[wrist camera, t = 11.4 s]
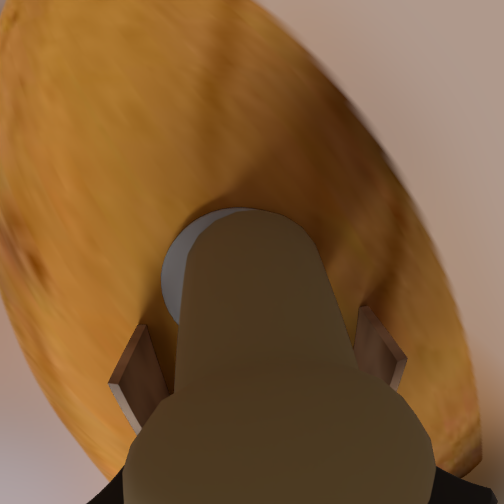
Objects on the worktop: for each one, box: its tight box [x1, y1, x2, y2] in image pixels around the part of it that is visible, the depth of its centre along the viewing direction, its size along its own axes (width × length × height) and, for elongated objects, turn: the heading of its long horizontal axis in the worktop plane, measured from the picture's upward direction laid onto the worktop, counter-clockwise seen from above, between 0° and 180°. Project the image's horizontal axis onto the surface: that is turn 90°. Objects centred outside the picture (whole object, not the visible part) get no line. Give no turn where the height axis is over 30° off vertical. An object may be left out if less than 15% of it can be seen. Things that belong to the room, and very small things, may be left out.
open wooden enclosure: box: [108, 306, 408, 435], centre depth 13 cm, size 10×12×4 cm
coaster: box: [161, 207, 257, 325], centre depth 13 cm, size 7×7×1 cm
